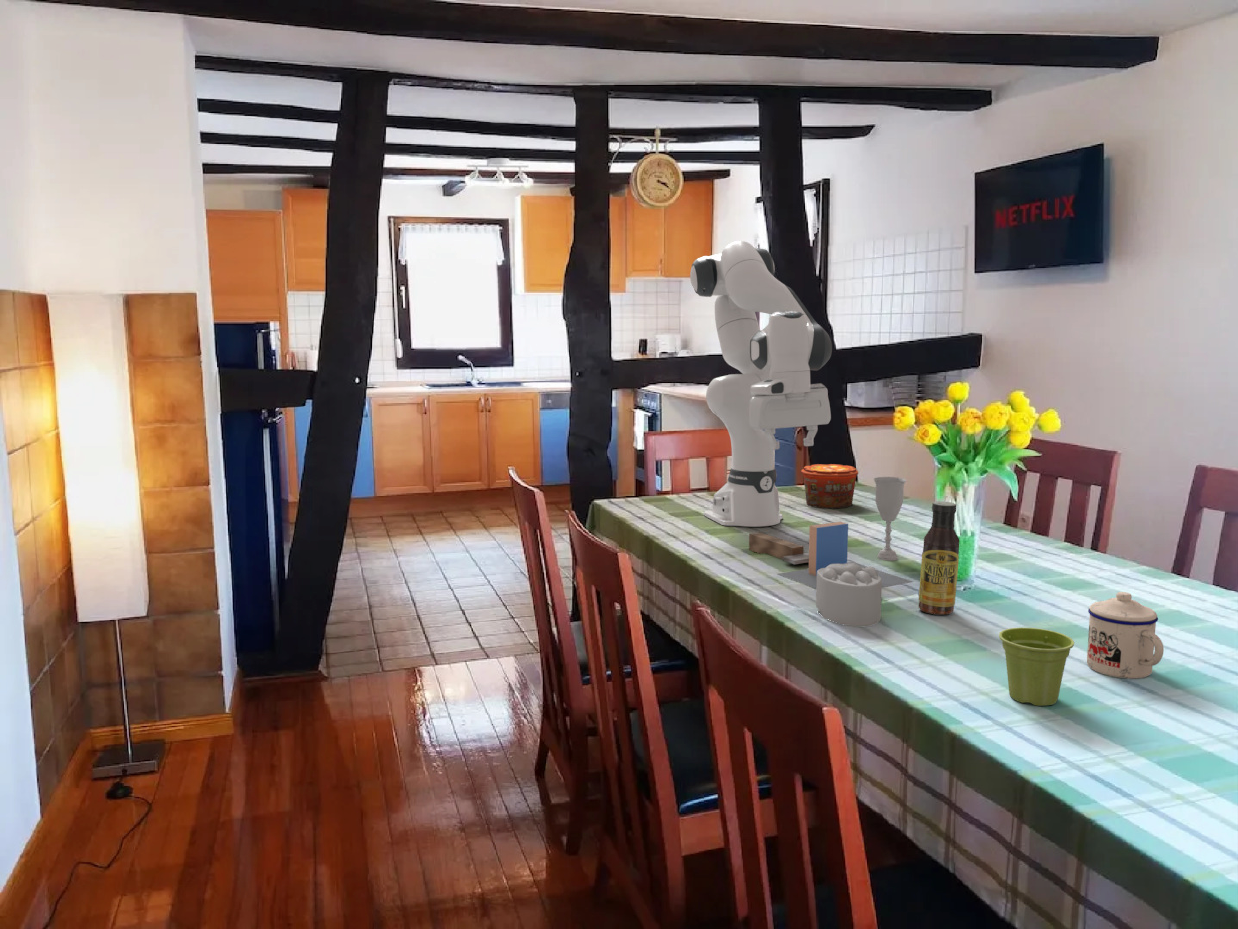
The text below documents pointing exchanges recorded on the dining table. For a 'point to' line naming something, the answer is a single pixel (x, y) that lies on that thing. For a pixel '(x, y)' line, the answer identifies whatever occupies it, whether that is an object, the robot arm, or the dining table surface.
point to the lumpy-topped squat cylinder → (849, 594)
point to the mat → (811, 580)
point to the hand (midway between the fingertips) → (791, 447)
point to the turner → (777, 548)
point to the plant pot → (1035, 663)
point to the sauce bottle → (939, 562)
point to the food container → (829, 485)
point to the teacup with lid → (1123, 638)
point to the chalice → (889, 508)
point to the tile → (827, 545)
